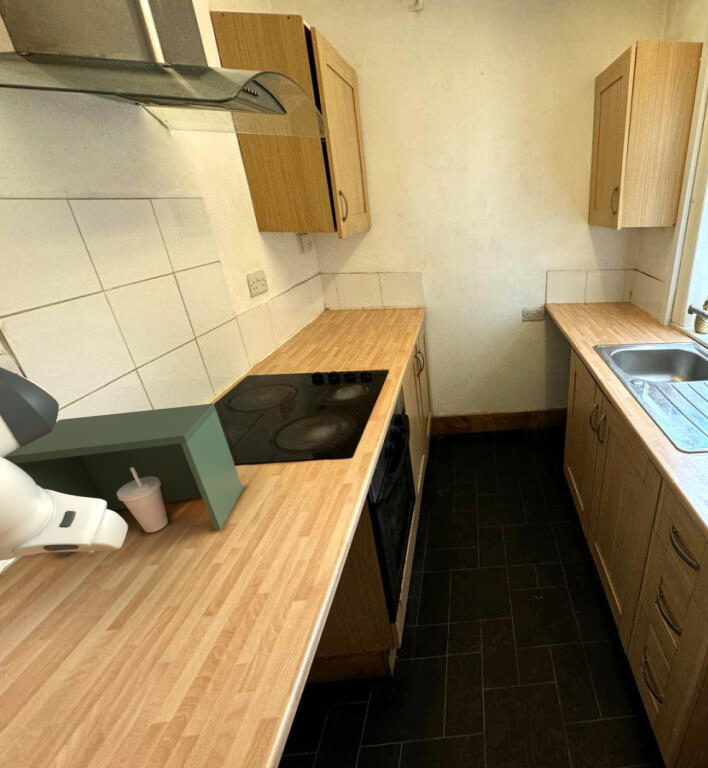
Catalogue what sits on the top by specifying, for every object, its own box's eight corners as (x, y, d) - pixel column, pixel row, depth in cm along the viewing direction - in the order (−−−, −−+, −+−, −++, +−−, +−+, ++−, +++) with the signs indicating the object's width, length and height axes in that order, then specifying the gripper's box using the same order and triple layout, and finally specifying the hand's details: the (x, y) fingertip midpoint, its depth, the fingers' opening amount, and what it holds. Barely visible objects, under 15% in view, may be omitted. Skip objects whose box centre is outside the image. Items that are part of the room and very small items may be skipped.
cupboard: (62, 555, 76) (1, 457, 67) (106, 508, 88) (60, 419, 79) (220, 529, 82) (184, 435, 73) (242, 488, 93) (213, 403, 84)
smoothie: (155, 539, 79) (126, 479, 74) (126, 535, 80) (96, 476, 75) (184, 516, 85) (160, 459, 80) (157, 512, 86) (131, 456, 80)
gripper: (-134, 550, 47) (-66, 575, 57) (102, 544, 56) (126, 567, 66) (-98, 496, 51) (-40, 529, 61) (119, 499, 60) (139, 527, 70)
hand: (48, 548), depth 64 cm, fingers open, 8 cm apart
